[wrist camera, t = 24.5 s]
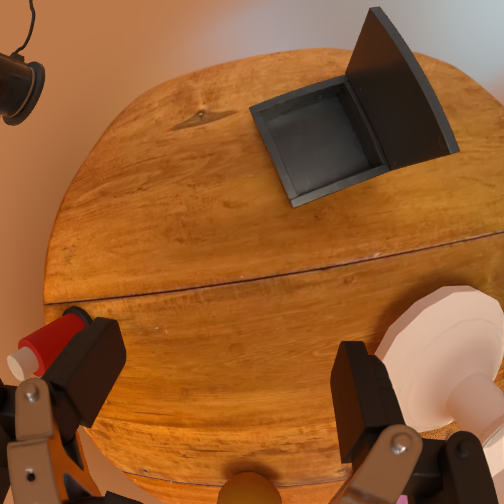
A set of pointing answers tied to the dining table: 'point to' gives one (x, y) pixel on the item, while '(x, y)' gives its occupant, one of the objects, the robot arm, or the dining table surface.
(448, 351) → the candle holder
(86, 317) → the black coaster
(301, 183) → the box
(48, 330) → the sauce bottle
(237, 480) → the apple
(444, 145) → the box lid
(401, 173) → the dining table surface
